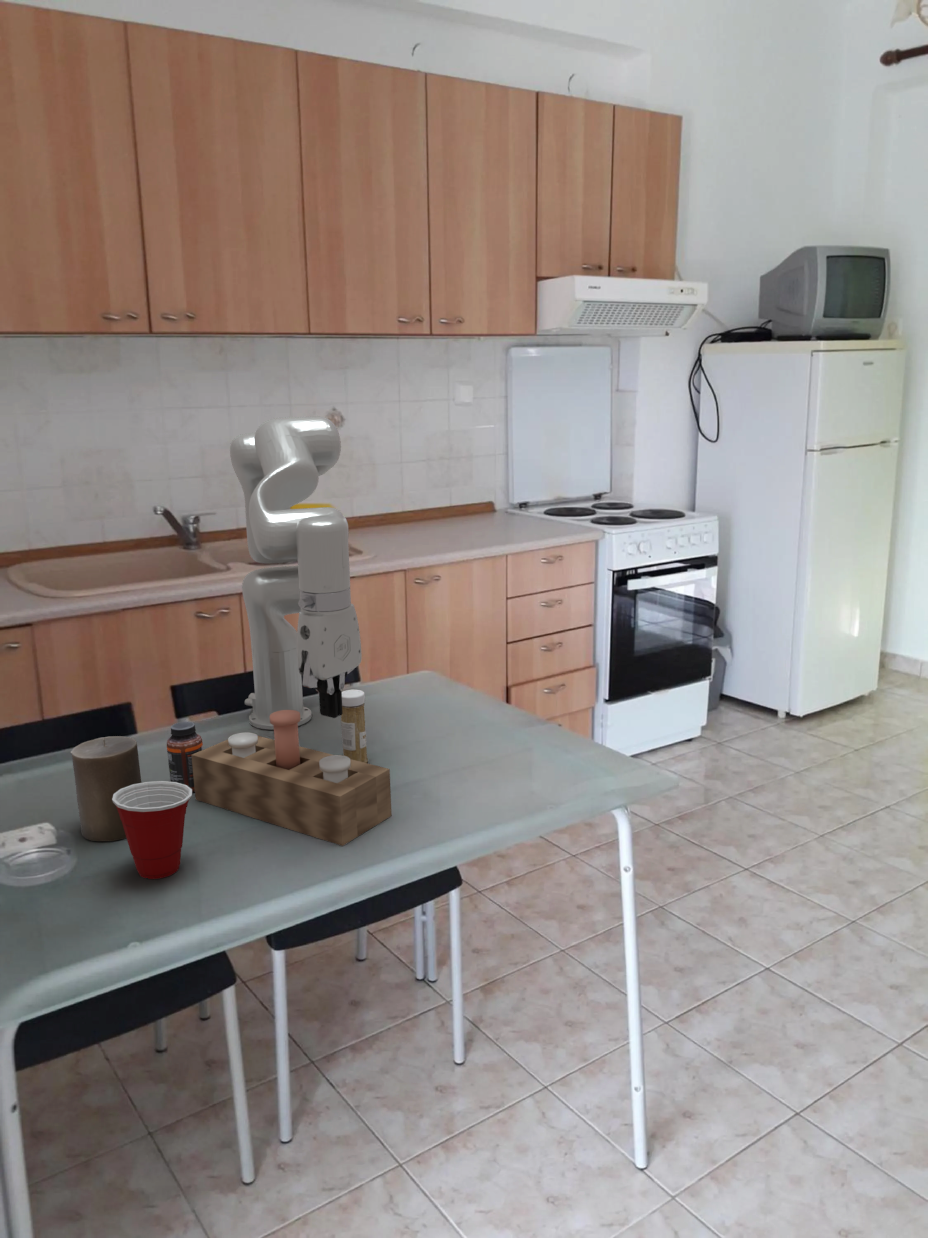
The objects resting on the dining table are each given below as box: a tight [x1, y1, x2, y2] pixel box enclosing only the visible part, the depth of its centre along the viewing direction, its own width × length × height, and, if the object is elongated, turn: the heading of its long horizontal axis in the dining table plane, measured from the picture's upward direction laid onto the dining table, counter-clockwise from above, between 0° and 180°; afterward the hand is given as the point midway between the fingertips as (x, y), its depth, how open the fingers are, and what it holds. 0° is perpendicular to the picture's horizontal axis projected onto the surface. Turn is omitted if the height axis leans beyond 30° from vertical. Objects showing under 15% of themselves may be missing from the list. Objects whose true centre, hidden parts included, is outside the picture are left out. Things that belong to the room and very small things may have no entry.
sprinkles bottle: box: [340, 689, 369, 763], centre depth 176 cm, size 5×5×14 cm
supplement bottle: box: [166, 721, 204, 793], centre depth 167 cm, size 6×6×11 cm
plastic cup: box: [112, 780, 193, 880], centre depth 139 cm, size 11×11×12 cm
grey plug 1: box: [227, 732, 259, 758], centre depth 164 cm, size 5×5×10 cm
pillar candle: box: [70, 735, 143, 842], centre depth 152 cm, size 10×10×15 cm
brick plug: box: [270, 710, 301, 770], centre depth 157 cm, size 5×5×10 cm
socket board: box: [191, 735, 392, 847], centre depth 159 cm, size 32×12×8 cm, turn 57°
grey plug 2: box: [319, 754, 351, 783], centre depth 153 cm, size 5×5×10 cm
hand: (331, 714), depth 151 cm, fingers closed
